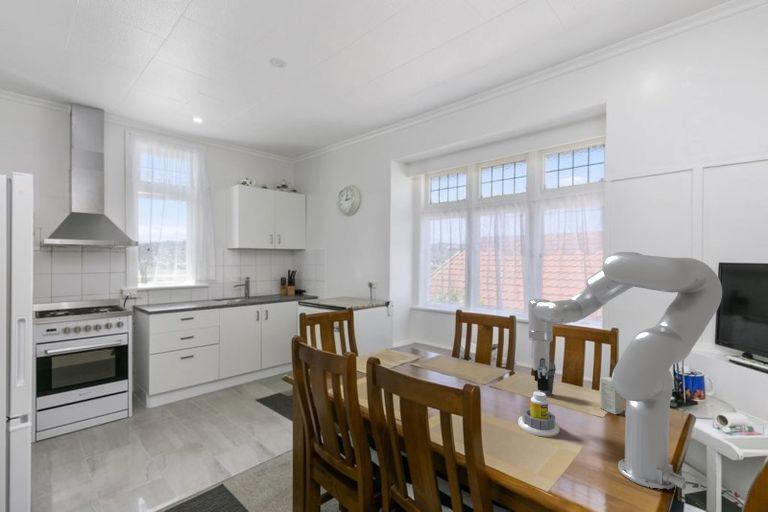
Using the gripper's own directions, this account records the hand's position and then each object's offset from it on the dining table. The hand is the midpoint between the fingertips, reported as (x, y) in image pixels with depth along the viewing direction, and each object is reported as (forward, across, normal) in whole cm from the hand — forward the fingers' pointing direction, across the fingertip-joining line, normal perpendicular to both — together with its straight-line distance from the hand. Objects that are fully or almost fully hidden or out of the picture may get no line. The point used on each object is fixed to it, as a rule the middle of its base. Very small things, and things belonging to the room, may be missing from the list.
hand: (541, 385), depth 125 cm
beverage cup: (+14, -34, +5) cm, 37 cm away
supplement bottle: (+13, -1, -1) cm, 13 cm away
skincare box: (+15, -25, +27) cm, 40 cm away
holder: (+15, -1, -1) cm, 15 cm away
